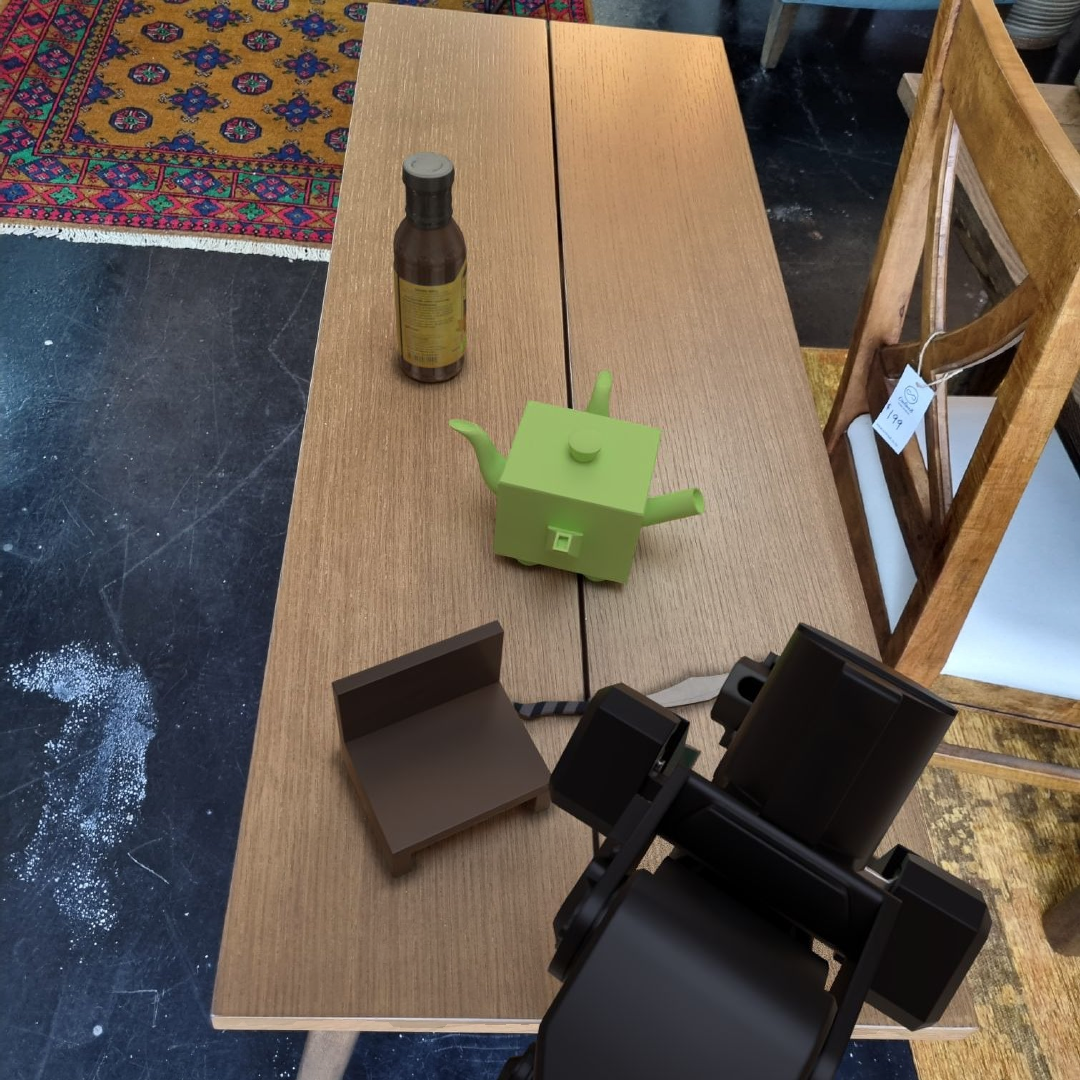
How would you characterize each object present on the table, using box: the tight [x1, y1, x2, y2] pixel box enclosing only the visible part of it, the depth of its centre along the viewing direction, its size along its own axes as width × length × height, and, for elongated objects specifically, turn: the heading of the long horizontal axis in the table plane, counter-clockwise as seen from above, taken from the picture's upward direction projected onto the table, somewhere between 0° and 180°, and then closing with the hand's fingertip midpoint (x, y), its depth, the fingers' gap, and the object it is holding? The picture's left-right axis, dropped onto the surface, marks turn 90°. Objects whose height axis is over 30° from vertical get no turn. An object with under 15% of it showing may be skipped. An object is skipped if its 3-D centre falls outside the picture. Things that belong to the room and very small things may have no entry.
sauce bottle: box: [392, 151, 468, 383], centre depth 85 cm, size 6×6×20 cm
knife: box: [512, 672, 730, 720], centre depth 71 cm, size 19×2×1 cm, turn 104°
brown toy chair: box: [331, 619, 552, 879], centre depth 63 cm, size 9×11×10 cm
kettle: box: [448, 369, 706, 585], centre depth 76 cm, size 15×14×11 cm
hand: (772, 804), depth 52 cm, fingers open, 9 cm apart
